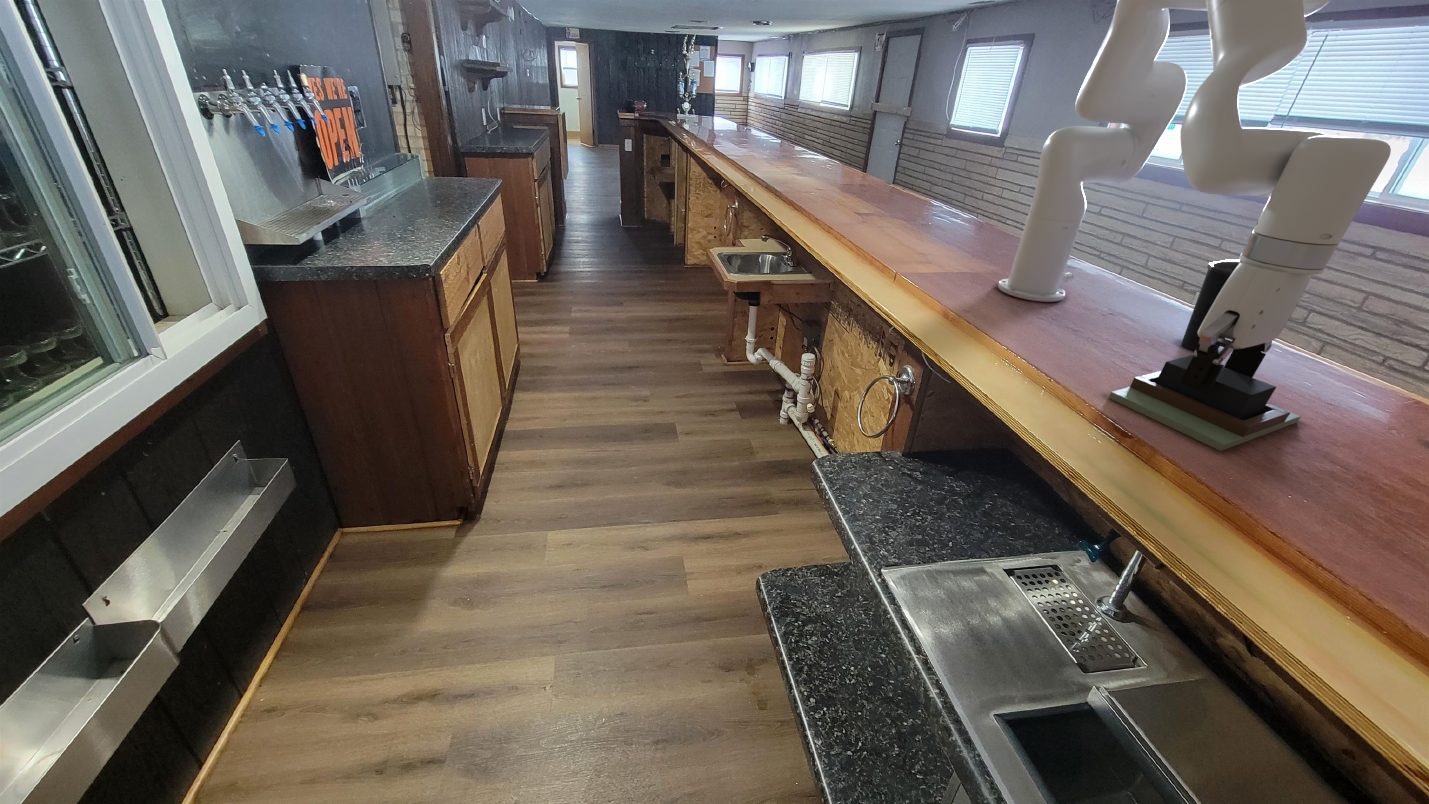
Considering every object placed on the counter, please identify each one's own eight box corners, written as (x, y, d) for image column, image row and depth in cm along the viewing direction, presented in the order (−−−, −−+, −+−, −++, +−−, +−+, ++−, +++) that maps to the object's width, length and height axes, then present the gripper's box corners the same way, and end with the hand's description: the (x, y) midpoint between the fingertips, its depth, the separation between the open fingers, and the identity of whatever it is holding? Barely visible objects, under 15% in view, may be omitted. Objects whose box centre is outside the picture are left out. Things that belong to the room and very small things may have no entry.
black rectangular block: (1151, 390, 79) (1165, 361, 77) (1177, 383, 81) (1191, 355, 79) (1232, 426, 71) (1251, 394, 69) (1258, 417, 73) (1276, 386, 71)
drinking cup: (1175, 335, 100) (1231, 220, 91) (1229, 349, 96) (1294, 229, 86) (1166, 346, 96) (1224, 226, 86) (1222, 361, 91) (1290, 236, 81)
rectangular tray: (1184, 377, 85) (1191, 362, 84) (1297, 422, 74) (1307, 406, 73) (1108, 397, 79) (1115, 382, 77) (1220, 451, 68) (1231, 433, 66)
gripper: (1285, 240, 72) (1220, 360, 81) (1208, 250, 65) (1146, 380, 74) (1362, 255, 66) (1283, 383, 75) (1286, 268, 60) (1209, 407, 68)
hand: (1215, 382), depth 74 cm, fingers open, 9 cm apart
